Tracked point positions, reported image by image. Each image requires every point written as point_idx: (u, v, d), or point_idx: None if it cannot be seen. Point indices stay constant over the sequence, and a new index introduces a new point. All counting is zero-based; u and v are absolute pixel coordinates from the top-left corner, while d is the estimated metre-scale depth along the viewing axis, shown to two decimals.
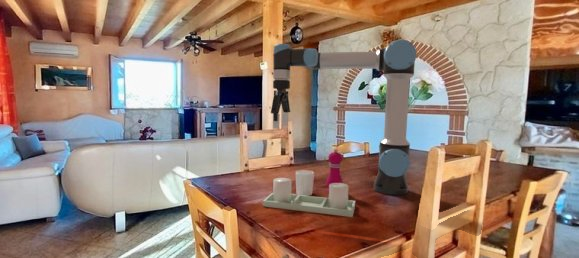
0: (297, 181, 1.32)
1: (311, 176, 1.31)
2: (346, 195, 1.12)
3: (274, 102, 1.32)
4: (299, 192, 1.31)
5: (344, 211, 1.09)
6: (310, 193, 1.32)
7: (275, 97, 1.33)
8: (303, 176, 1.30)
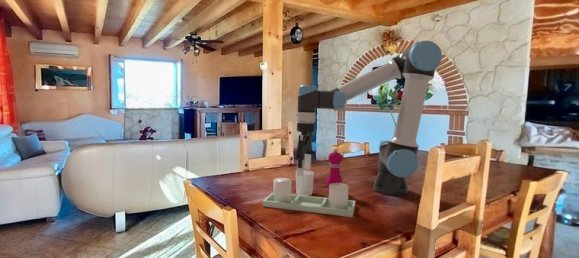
0: (297, 181, 1.32)
1: (311, 176, 1.31)
2: (346, 195, 1.12)
3: (299, 148, 1.24)
4: (299, 192, 1.31)
5: (344, 211, 1.09)
6: (310, 193, 1.32)
7: (300, 143, 1.25)
8: (303, 176, 1.30)
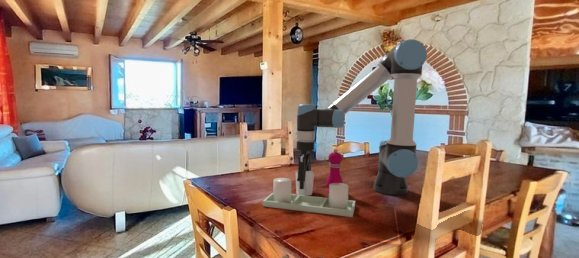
0: (297, 181, 1.32)
1: (311, 176, 1.31)
2: (346, 195, 1.12)
3: (300, 170, 1.27)
4: None
5: (344, 211, 1.09)
6: (310, 193, 1.32)
7: (300, 164, 1.27)
8: None
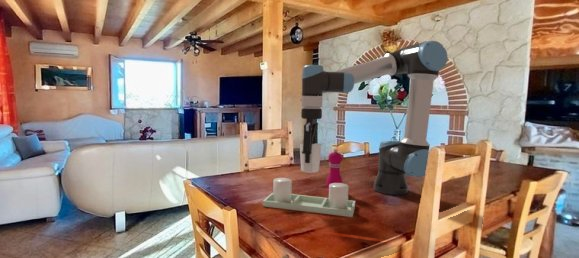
0: (302, 154, 1.15)
1: (318, 149, 1.14)
2: (346, 195, 1.12)
3: (305, 141, 1.09)
4: None
5: (344, 211, 1.09)
6: (317, 168, 1.15)
7: (306, 134, 1.10)
8: None
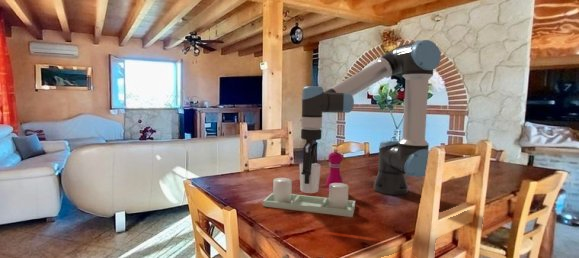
0: (301, 174, 1.15)
1: (318, 169, 1.14)
2: (346, 195, 1.12)
3: (305, 162, 1.10)
4: None
5: (344, 211, 1.09)
6: (316, 188, 1.16)
7: (306, 155, 1.10)
8: None
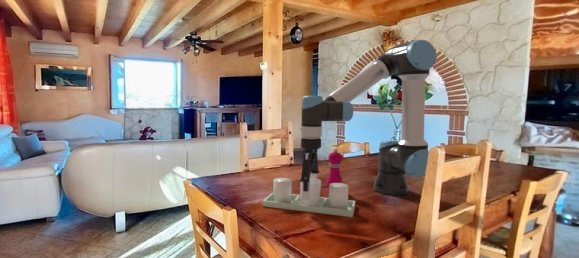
0: None
1: (318, 186, 1.15)
2: (346, 195, 1.12)
3: (304, 169, 1.09)
4: (304, 203, 1.15)
5: (344, 211, 1.09)
6: (317, 204, 1.16)
7: (305, 162, 1.10)
8: None
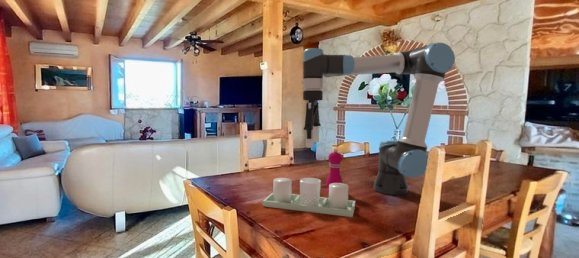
0: (301, 190, 1.16)
1: (318, 185, 1.15)
2: (346, 195, 1.12)
3: (307, 117, 1.13)
4: (304, 203, 1.15)
5: (344, 211, 1.09)
6: (316, 204, 1.16)
7: (308, 111, 1.14)
8: (308, 185, 1.13)
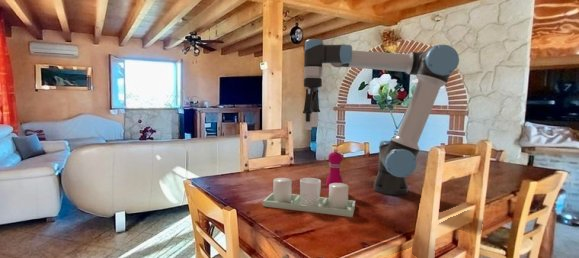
0: (301, 190, 1.16)
1: (318, 186, 1.15)
2: (346, 195, 1.12)
3: (307, 101, 1.24)
4: (304, 203, 1.15)
5: (344, 211, 1.09)
6: (316, 204, 1.16)
7: (307, 96, 1.24)
8: (308, 185, 1.13)
